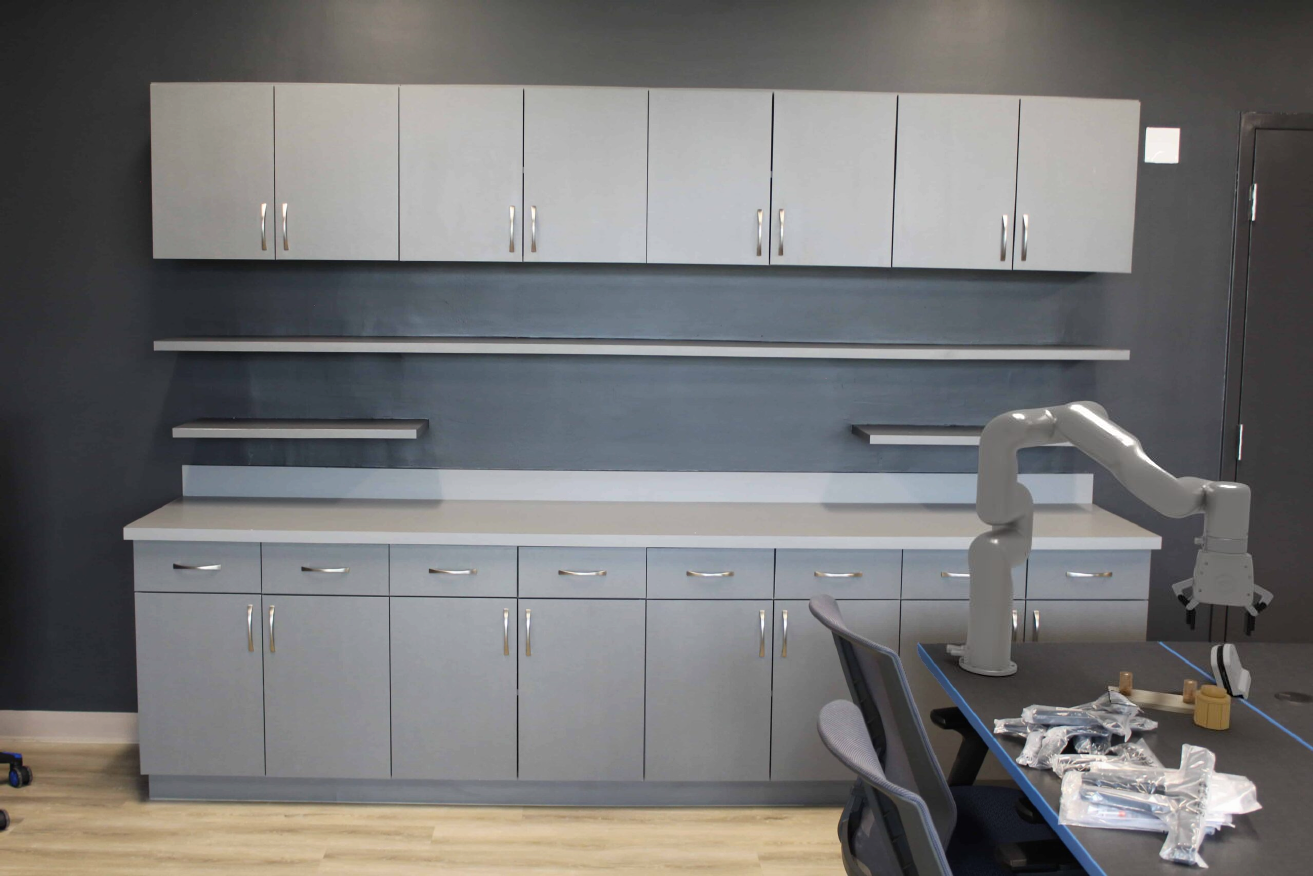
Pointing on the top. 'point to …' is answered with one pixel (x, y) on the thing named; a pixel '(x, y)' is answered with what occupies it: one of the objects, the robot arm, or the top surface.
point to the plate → (1158, 701)
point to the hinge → (1230, 670)
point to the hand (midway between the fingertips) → (1219, 631)
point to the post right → (1189, 691)
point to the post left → (1125, 683)
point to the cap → (1212, 707)
